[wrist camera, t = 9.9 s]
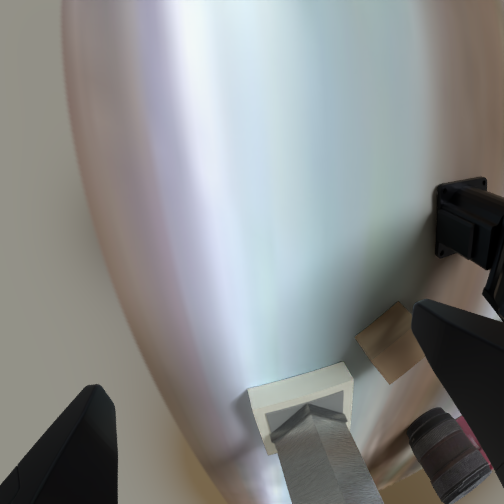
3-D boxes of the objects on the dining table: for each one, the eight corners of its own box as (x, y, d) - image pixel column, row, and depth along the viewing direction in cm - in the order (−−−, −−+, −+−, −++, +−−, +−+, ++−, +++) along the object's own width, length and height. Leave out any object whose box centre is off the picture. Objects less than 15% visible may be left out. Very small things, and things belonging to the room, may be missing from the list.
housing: (306, 402, 24) (353, 518, 13) (344, 413, 26) (391, 510, 15) (269, 434, 25) (299, 542, 14) (308, 442, 27) (342, 536, 16)
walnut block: (397, 300, 25) (418, 321, 22) (412, 329, 27) (431, 350, 24) (353, 335, 26) (370, 361, 22) (373, 361, 28) (389, 384, 24)
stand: (343, 361, 26) (354, 380, 24) (341, 414, 30) (350, 431, 28) (247, 388, 26) (252, 411, 23) (263, 437, 29) (268, 456, 27)
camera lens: (448, 412, 37) (493, 474, 24) (409, 442, 38) (447, 507, 25) (442, 396, 34) (494, 468, 20) (397, 430, 35) (441, 507, 21)
